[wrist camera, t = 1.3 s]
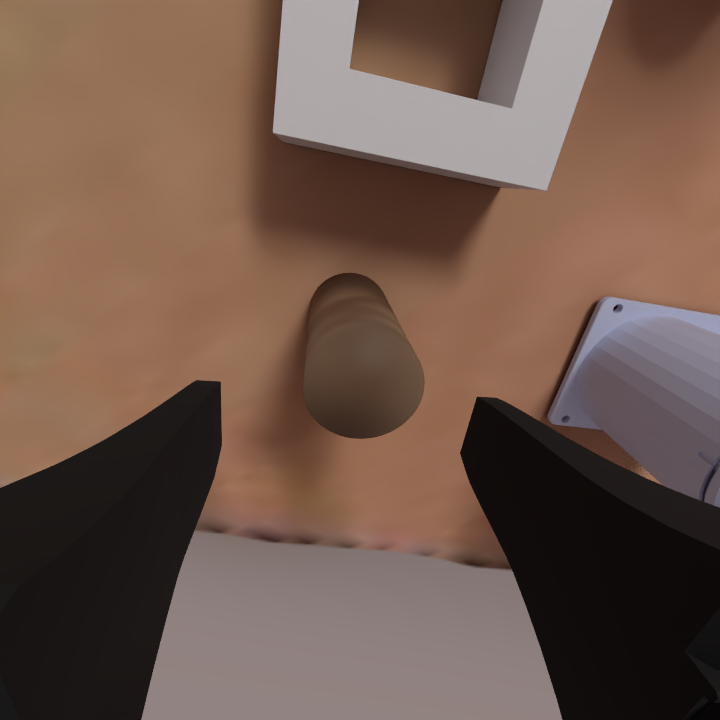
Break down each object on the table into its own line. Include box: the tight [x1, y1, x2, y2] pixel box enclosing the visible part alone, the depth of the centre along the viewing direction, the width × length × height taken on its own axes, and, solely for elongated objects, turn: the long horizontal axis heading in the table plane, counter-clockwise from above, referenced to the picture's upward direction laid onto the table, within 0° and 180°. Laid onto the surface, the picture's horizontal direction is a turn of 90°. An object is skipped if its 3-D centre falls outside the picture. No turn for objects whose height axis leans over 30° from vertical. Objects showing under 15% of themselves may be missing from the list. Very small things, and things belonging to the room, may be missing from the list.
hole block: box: [273, 0, 613, 191], centre depth 13 cm, size 10×10×4 cm
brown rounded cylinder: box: [303, 273, 424, 439], centre depth 16 cm, size 4×4×8 cm
